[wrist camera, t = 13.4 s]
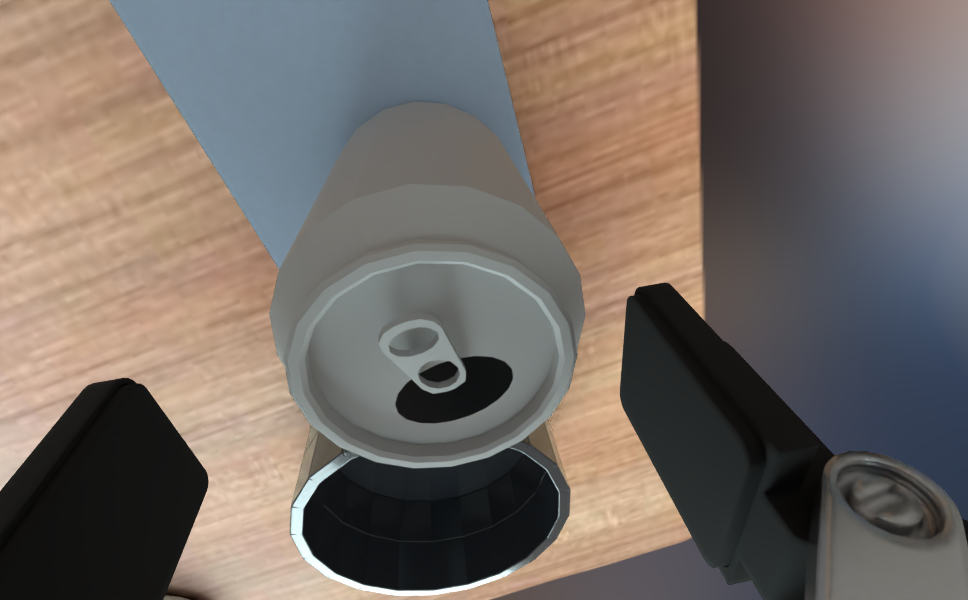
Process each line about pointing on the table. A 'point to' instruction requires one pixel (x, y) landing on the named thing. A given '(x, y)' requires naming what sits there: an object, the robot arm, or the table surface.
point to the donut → (174, 598)
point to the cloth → (314, 85)
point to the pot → (427, 516)
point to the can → (427, 296)
